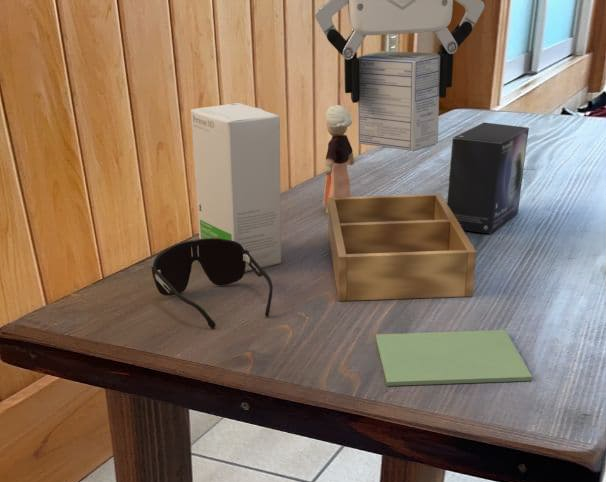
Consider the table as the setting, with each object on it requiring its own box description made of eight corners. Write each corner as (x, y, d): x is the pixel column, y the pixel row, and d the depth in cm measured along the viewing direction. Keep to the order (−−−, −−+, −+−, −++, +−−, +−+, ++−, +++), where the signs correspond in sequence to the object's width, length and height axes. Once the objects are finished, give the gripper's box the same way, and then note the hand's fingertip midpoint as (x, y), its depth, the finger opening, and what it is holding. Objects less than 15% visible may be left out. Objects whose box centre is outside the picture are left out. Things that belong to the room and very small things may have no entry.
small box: (493, 236, 103) (503, 141, 96) (442, 229, 105) (449, 137, 99) (521, 213, 110) (532, 124, 104) (473, 208, 113) (481, 121, 106)
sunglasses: (241, 276, 93) (240, 231, 89) (290, 325, 85) (291, 278, 82) (149, 294, 89) (144, 247, 86) (191, 347, 81) (188, 299, 78)
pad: (505, 333, 78) (505, 329, 78) (531, 381, 70) (532, 376, 70) (375, 338, 78) (375, 334, 78) (386, 386, 70) (387, 381, 70)
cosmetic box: (199, 256, 99) (185, 108, 90) (247, 245, 102) (238, 101, 93) (237, 275, 93) (226, 119, 84) (287, 263, 96) (281, 111, 87)
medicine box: (439, 145, 92) (442, 53, 87) (412, 152, 89) (415, 58, 84) (383, 137, 96) (383, 50, 91) (356, 144, 94) (355, 55, 89)
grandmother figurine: (330, 202, 117) (329, 100, 109) (358, 204, 116) (359, 100, 108) (316, 218, 111) (314, 110, 103) (344, 220, 110) (344, 111, 102)
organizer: (438, 231, 104) (441, 193, 102) (472, 296, 86) (476, 251, 84) (328, 235, 104) (327, 197, 102) (338, 301, 86) (338, 256, 84)
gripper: (310, -103, 77) (317, 109, 87) (501, -114, 77) (486, 99, 87) (307, -100, 83) (314, 97, 93) (485, -111, 83) (473, 88, 93)
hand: (397, 97), depth 90 cm, fingers closed on medicine box, 8 cm apart
